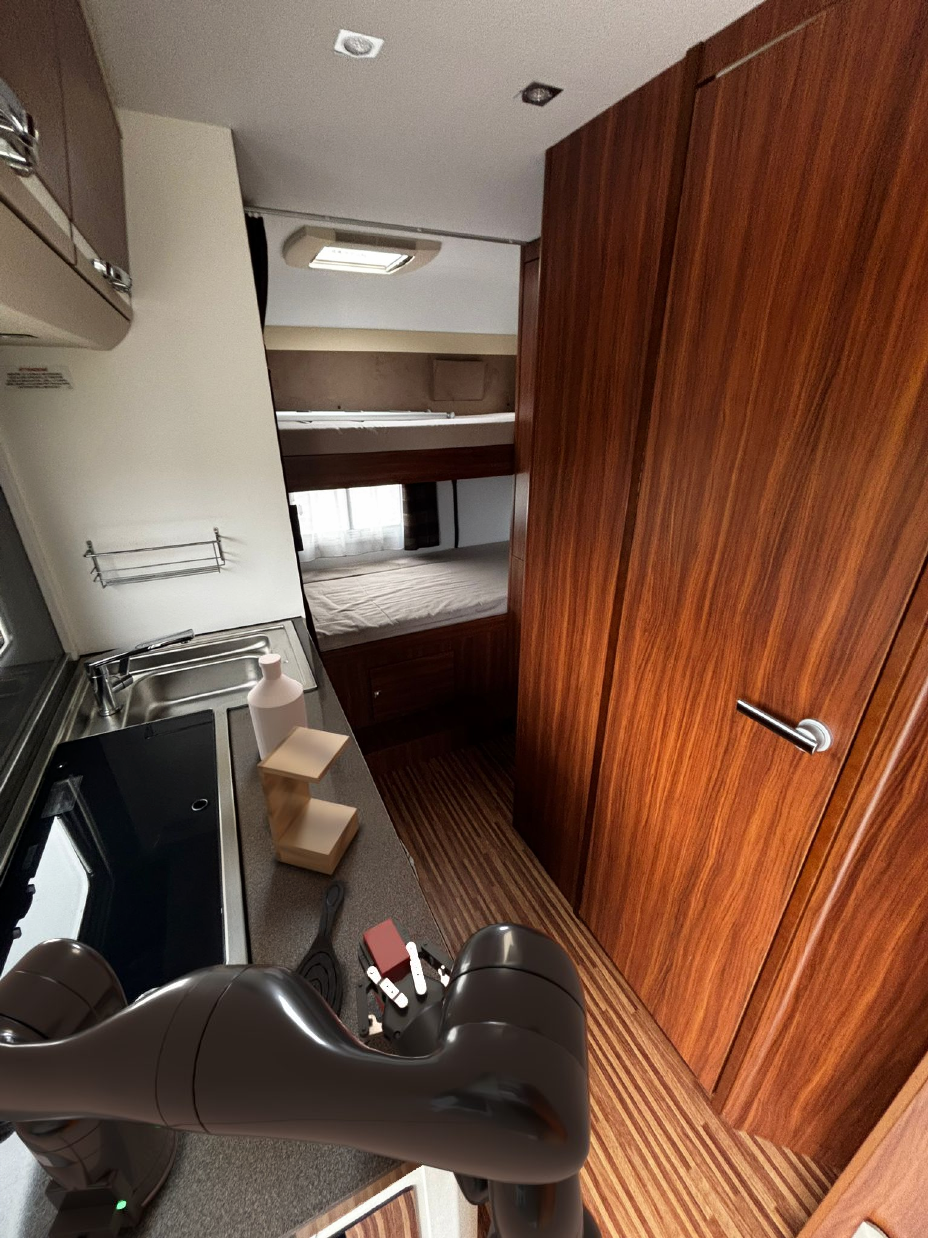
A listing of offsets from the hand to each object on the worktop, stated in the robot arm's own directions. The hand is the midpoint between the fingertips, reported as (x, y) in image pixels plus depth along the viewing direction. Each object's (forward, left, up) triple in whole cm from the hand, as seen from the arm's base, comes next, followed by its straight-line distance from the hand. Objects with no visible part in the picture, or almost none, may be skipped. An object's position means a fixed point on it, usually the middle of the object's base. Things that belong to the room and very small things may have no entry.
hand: (378, 936), depth 67 cm
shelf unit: (+26, +14, -11) cm, 31 cm away
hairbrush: (+4, +9, -11) cm, 15 cm away
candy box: (-2, -1, -8) cm, 8 cm away
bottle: (+54, +27, -11) cm, 61 cm away
